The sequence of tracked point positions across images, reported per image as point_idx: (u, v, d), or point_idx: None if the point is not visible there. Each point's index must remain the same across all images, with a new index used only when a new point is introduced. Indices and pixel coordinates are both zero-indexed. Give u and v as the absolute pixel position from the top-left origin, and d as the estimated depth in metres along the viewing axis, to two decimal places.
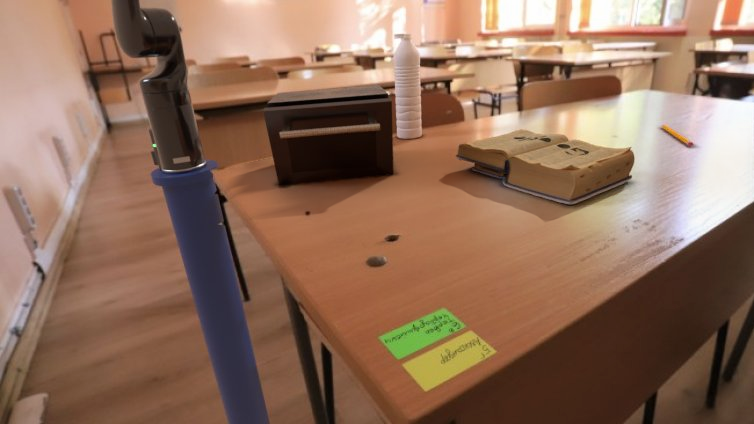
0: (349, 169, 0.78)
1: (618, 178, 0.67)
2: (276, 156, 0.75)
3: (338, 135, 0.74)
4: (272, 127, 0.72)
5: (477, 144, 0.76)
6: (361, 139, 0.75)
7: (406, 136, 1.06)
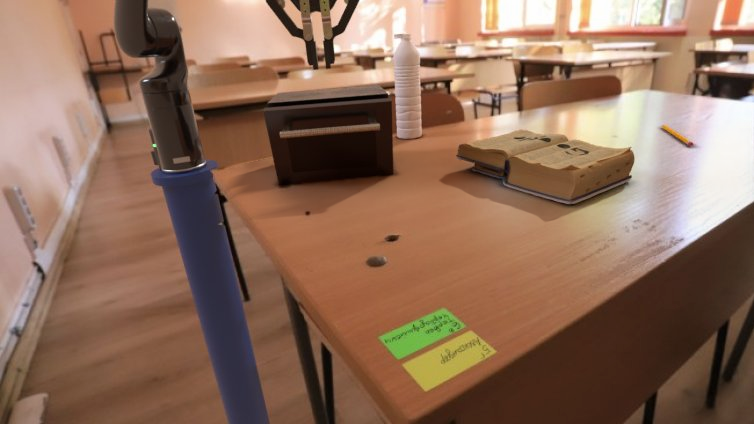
0: (349, 169, 0.78)
1: (618, 178, 0.67)
2: (276, 156, 0.75)
3: (338, 135, 0.74)
4: (272, 127, 0.72)
5: (477, 144, 0.76)
6: (361, 139, 0.75)
7: (406, 136, 1.06)
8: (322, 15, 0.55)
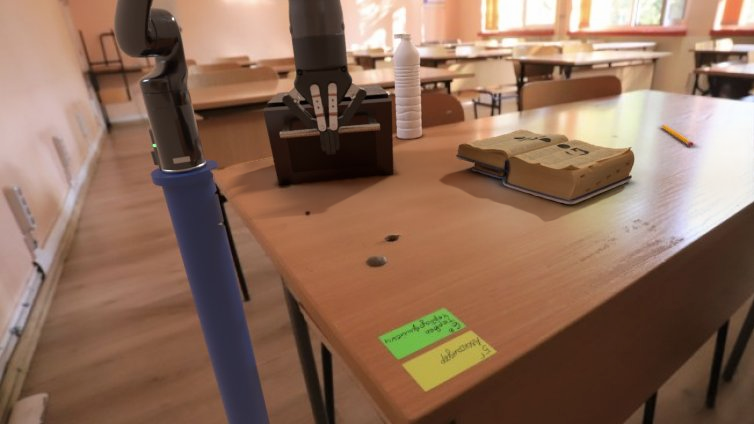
0: (349, 169, 0.78)
1: (618, 178, 0.67)
2: (276, 156, 0.75)
3: None
4: (272, 127, 0.72)
5: (477, 144, 0.76)
6: (361, 139, 0.75)
7: (406, 136, 1.06)
8: (330, 110, 0.61)
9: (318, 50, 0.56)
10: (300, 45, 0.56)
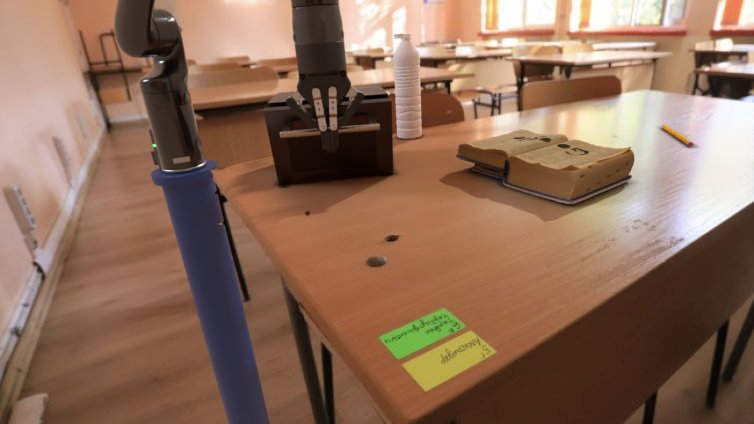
0: (349, 169, 0.78)
1: (618, 178, 0.67)
2: (276, 156, 0.75)
3: (338, 135, 0.74)
4: (272, 127, 0.72)
5: (477, 144, 0.76)
6: (361, 139, 0.75)
7: (406, 136, 1.06)
8: (330, 112, 0.65)
9: (319, 57, 0.60)
10: (303, 52, 0.61)
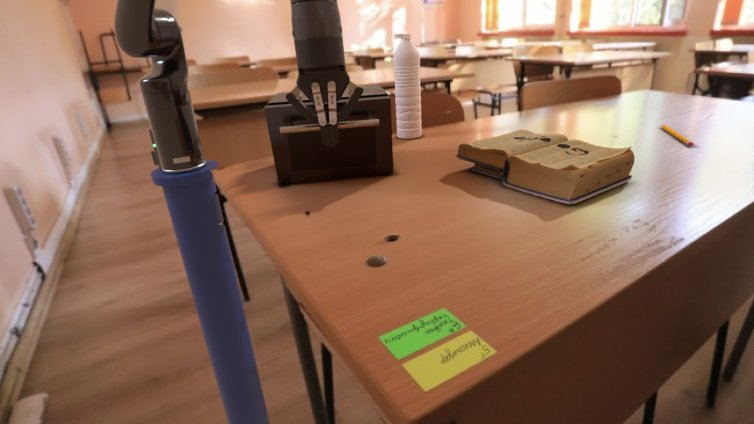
0: (349, 168, 0.79)
1: (618, 178, 0.67)
2: (276, 154, 0.76)
3: (338, 133, 0.75)
4: (273, 124, 0.73)
5: (477, 144, 0.76)
6: (361, 137, 0.76)
7: (406, 136, 1.06)
8: (329, 106, 0.66)
9: (318, 51, 0.61)
10: (302, 46, 0.62)
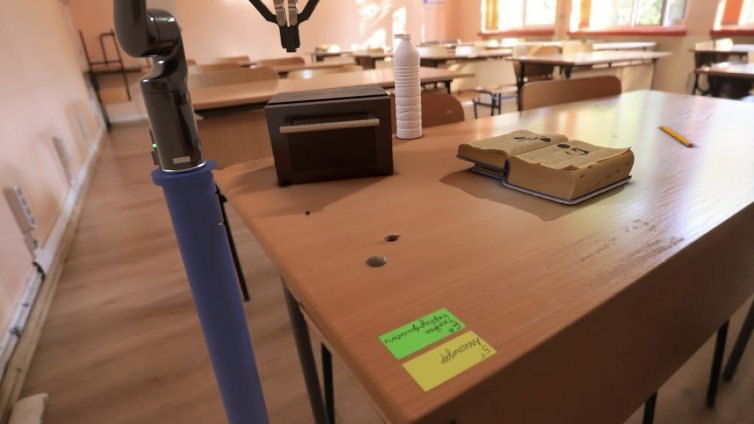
0: (349, 168, 0.79)
1: (618, 178, 0.67)
2: (276, 154, 0.76)
3: (338, 133, 0.75)
4: (273, 124, 0.73)
5: (477, 144, 0.76)
6: (361, 137, 0.76)
7: (406, 136, 1.06)
8: (288, 2, 0.61)
9: None
10: None
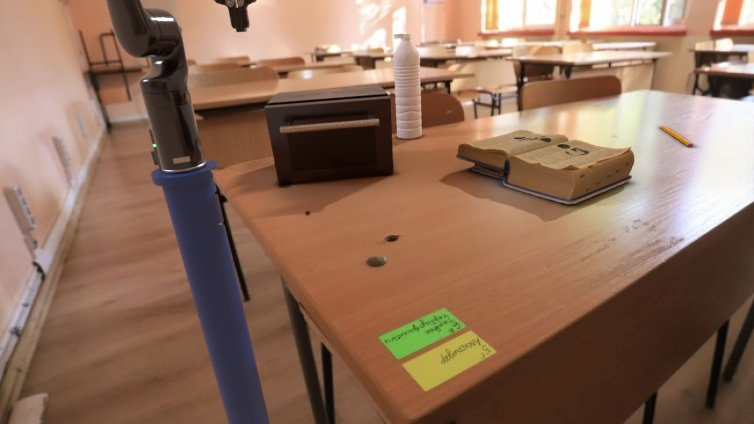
0: (349, 168, 0.79)
1: (618, 178, 0.67)
2: (276, 154, 0.76)
3: (338, 133, 0.75)
4: (273, 124, 0.73)
5: (477, 144, 0.76)
6: (361, 137, 0.76)
7: (406, 136, 1.06)
8: None
9: None
10: None
